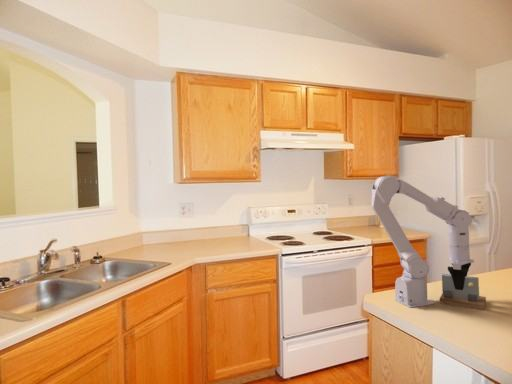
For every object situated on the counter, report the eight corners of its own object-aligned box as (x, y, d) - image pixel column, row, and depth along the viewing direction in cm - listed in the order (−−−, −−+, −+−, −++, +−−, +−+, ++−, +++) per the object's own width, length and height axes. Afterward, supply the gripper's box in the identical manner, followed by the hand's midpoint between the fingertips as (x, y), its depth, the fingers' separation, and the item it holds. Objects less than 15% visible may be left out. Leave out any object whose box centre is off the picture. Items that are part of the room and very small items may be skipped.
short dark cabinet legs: (477, 302, 100) (476, 296, 100) (443, 297, 105) (443, 291, 105) (478, 297, 104) (478, 291, 104) (445, 292, 109) (445, 287, 109)
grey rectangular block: (478, 302, 100) (477, 280, 100) (442, 296, 106) (441, 275, 106) (479, 299, 102) (478, 277, 102) (443, 293, 109) (442, 273, 109)
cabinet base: (484, 310, 97) (484, 305, 97) (439, 302, 104) (439, 298, 104) (485, 301, 104) (485, 296, 104) (443, 295, 111) (443, 290, 111)
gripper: (471, 250, 96) (473, 294, 96) (475, 242, 108) (476, 282, 108) (444, 248, 101) (446, 291, 101) (451, 241, 112) (452, 279, 112)
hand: (460, 286), depth 104 cm, fingers open, 7 cm apart
